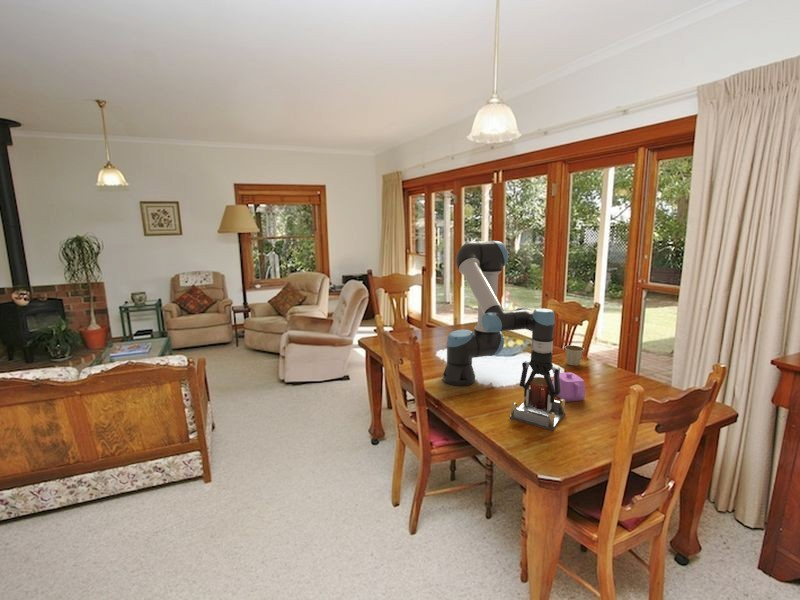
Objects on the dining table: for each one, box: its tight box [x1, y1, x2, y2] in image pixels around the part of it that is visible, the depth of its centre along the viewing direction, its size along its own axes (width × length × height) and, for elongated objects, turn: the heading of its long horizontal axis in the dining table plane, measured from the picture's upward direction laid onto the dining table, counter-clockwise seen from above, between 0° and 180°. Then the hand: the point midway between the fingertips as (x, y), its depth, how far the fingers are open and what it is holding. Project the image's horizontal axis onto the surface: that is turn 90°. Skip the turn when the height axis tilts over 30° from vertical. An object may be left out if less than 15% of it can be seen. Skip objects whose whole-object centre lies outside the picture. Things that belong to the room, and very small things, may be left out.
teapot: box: [552, 371, 586, 402], centre depth 176 cm, size 18×10×10 cm, turn 8°
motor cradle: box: [509, 395, 566, 431], centre depth 158 cm, size 16×16×6 cm
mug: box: [529, 376, 553, 409], centre depth 157 cm, size 12×9×10 cm
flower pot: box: [564, 344, 585, 367], centre depth 213 cm, size 9×9×9 cm
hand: (538, 407), depth 158 cm, fingers closed on mug, 7 cm apart
